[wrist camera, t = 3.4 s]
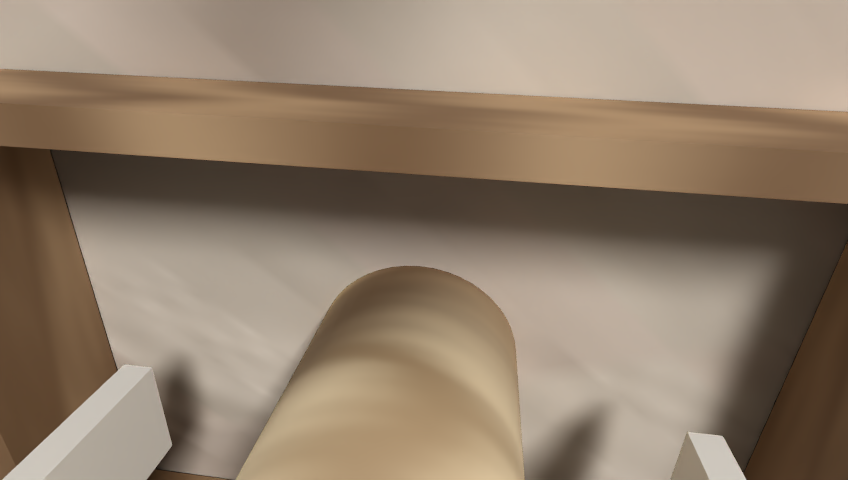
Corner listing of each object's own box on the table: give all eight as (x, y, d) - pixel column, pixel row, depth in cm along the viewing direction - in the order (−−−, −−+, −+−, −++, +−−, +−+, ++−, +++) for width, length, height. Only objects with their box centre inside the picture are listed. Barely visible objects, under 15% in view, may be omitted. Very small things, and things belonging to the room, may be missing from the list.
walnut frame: (132, 479, 19) (50, 585, 16) (-3, 68, 13) (-197, 92, 9) (728, 563, 17) (790, 709, 14) (944, 117, 10) (1180, 172, 7)
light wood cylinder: (327, 413, 17) (172, 794, 9) (316, 257, 14) (78, 591, 6) (505, 435, 16) (518, 867, 8) (527, 275, 13) (579, 675, 5)
